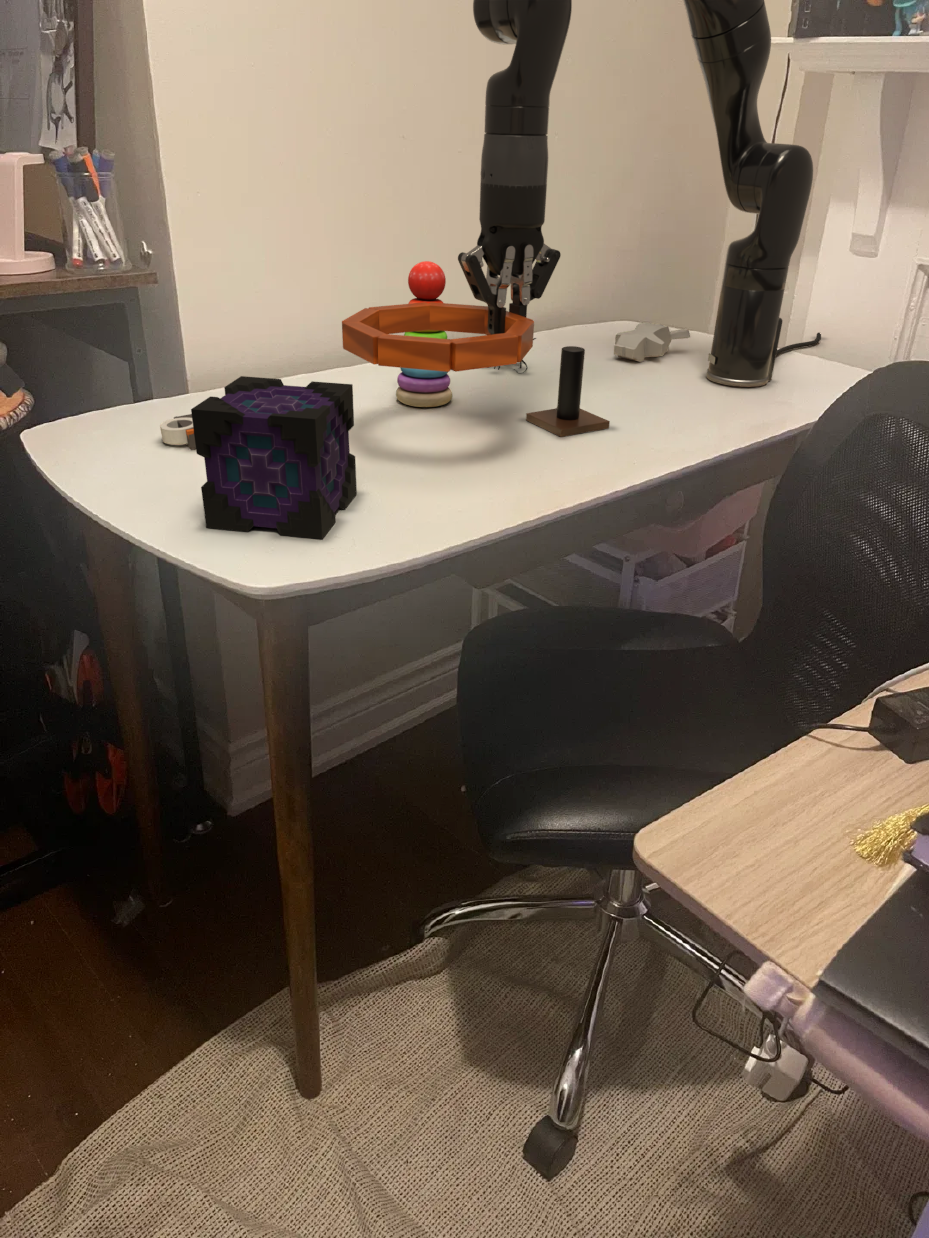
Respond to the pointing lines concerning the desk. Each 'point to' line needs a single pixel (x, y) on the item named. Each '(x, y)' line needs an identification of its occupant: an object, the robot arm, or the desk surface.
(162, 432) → the tape dispenser
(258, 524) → the energy cube
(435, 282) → the stacking toy
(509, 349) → the ring
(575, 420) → the post
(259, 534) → the desk surface
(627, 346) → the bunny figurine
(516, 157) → the robot arm
